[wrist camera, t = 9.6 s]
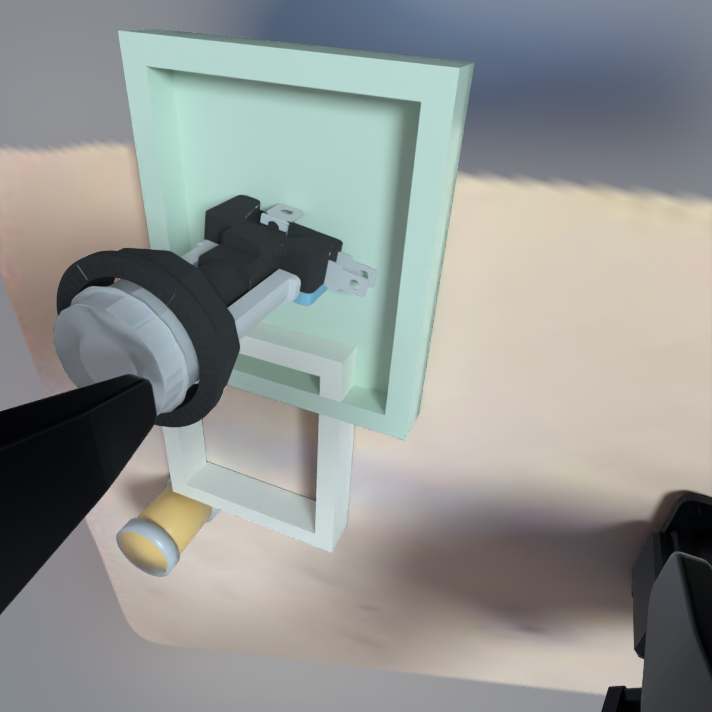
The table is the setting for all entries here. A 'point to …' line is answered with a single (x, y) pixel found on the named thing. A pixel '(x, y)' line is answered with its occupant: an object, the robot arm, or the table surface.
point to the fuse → (163, 531)
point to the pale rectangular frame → (259, 499)
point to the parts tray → (311, 187)
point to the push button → (193, 303)
